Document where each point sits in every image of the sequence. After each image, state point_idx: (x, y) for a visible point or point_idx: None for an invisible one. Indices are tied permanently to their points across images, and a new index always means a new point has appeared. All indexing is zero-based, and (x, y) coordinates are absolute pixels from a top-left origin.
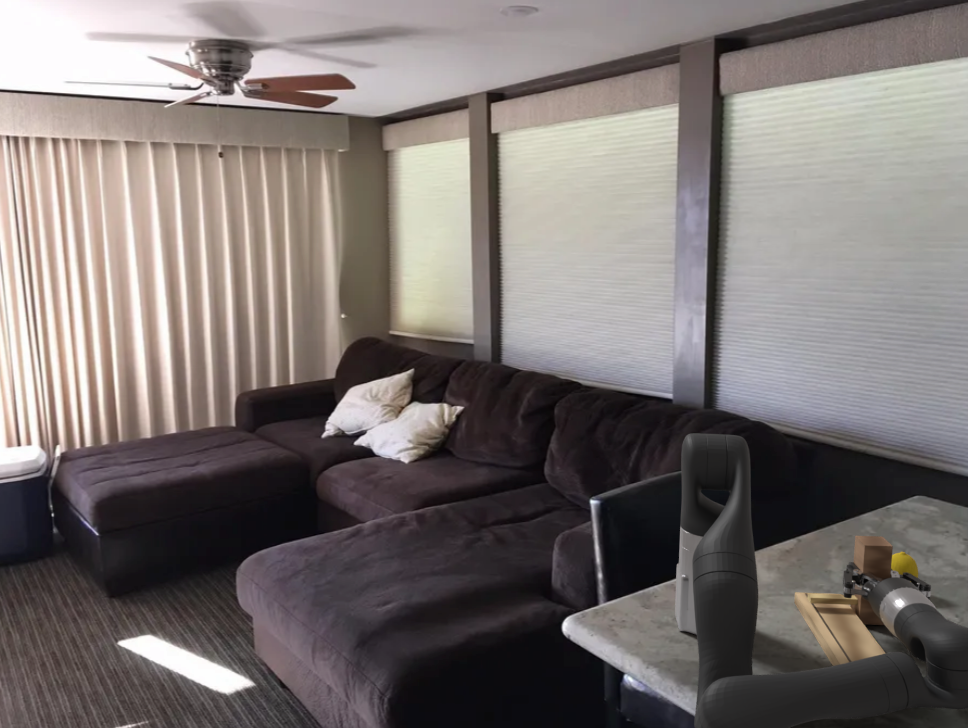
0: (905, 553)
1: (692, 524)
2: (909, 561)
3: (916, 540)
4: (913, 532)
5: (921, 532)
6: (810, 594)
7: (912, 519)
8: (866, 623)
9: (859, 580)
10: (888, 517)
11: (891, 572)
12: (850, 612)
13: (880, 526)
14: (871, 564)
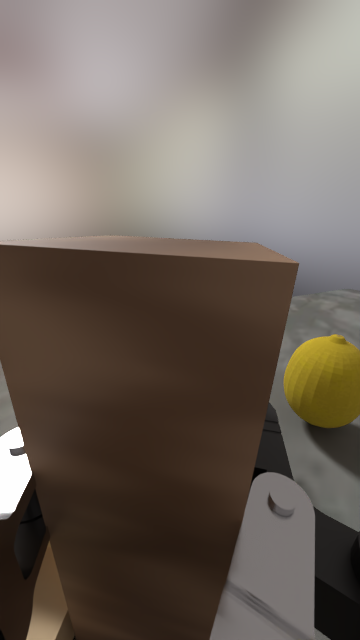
0: (344, 340)
1: None
2: (354, 362)
3: (346, 321)
4: (342, 313)
5: (351, 313)
6: None
7: (341, 302)
8: None
9: (26, 509)
10: (316, 299)
11: (253, 509)
12: (58, 583)
13: (305, 305)
14: (78, 432)
